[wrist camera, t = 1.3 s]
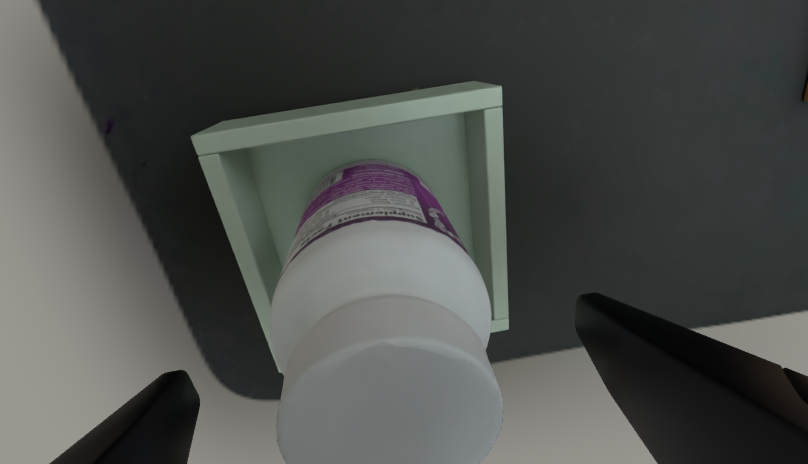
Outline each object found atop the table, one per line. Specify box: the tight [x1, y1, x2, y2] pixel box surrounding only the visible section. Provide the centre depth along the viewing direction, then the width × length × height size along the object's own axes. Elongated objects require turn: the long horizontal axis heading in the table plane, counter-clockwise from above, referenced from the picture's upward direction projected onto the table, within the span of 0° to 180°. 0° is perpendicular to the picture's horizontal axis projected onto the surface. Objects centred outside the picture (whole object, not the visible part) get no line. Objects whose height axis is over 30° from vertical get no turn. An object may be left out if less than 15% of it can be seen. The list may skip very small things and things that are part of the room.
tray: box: [191, 81, 509, 373], centre depth 14 cm, size 9×9×3 cm
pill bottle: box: [269, 159, 503, 464], centre depth 11 cm, size 5×5×10 cm
